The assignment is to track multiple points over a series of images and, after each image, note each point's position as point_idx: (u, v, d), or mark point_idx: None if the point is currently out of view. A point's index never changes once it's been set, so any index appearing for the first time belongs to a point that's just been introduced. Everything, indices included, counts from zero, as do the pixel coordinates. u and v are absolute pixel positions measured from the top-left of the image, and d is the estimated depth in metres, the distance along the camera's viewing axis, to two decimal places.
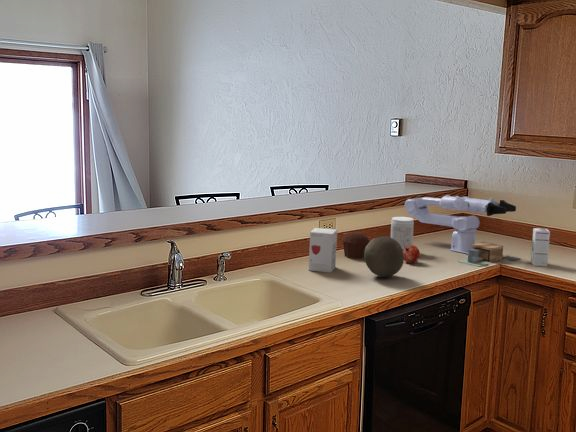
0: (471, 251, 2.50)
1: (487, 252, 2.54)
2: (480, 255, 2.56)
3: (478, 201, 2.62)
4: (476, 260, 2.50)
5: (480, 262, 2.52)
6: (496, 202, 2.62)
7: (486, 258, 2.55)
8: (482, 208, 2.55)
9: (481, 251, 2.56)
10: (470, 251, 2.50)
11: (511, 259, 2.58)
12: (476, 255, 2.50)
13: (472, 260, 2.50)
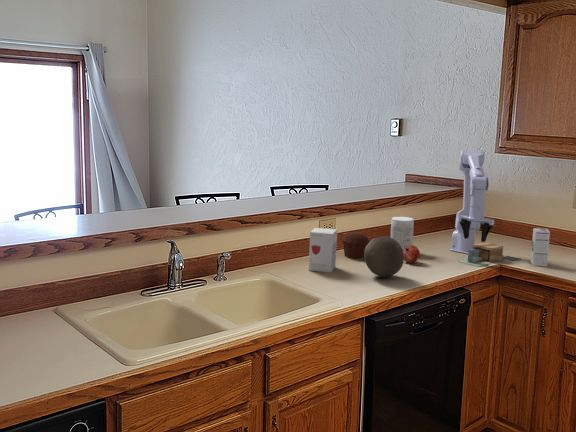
0: (471, 251, 2.50)
1: (487, 252, 2.54)
2: (480, 255, 2.56)
3: (473, 206, 2.46)
4: (476, 260, 2.50)
5: (480, 262, 2.52)
6: (481, 221, 2.45)
7: (486, 258, 2.55)
8: None
9: (481, 251, 2.56)
10: (470, 251, 2.50)
11: (511, 259, 2.58)
12: (476, 255, 2.50)
13: (472, 260, 2.50)
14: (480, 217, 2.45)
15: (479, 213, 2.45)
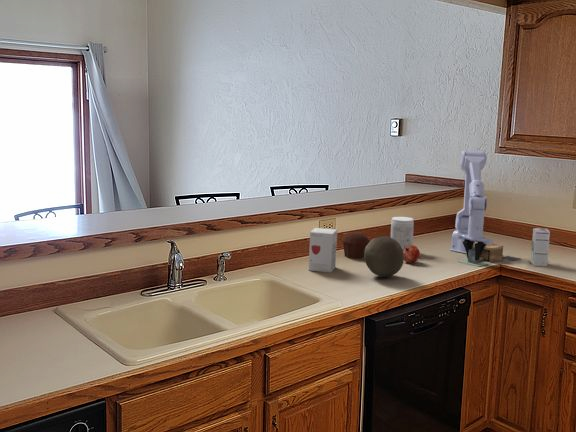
0: (471, 251, 2.50)
1: (487, 252, 2.54)
2: None
3: (471, 226, 2.47)
4: (476, 260, 2.50)
5: (480, 262, 2.52)
6: (479, 240, 2.46)
7: (486, 258, 2.55)
8: None
9: None
10: (470, 251, 2.50)
11: (511, 259, 2.58)
12: None
13: (472, 260, 2.50)
14: (478, 237, 2.47)
15: (477, 233, 2.46)
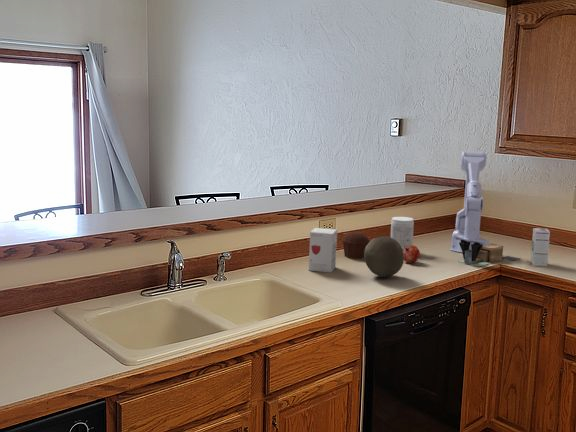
0: (468, 252, 2.48)
1: (484, 253, 2.52)
2: (477, 256, 2.55)
3: (467, 226, 2.45)
4: (473, 261, 2.48)
5: (480, 262, 2.52)
6: (476, 241, 2.44)
7: (483, 259, 2.53)
8: None
9: None
10: (467, 252, 2.48)
11: (511, 259, 2.58)
12: None
13: (469, 261, 2.48)
14: (475, 237, 2.45)
15: (473, 233, 2.45)
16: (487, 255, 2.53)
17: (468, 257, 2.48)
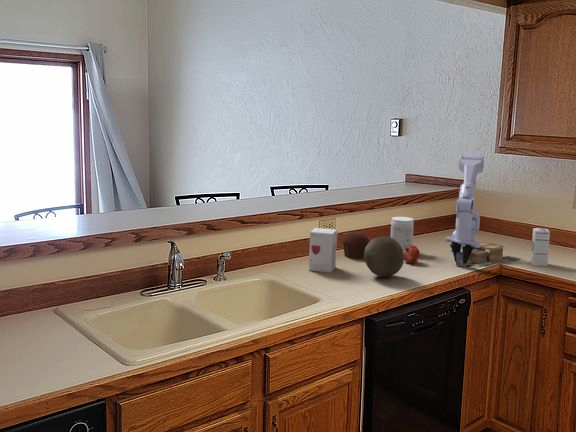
0: (459, 254, 2.44)
1: (476, 255, 2.48)
2: (469, 259, 2.50)
3: (458, 228, 2.41)
4: None
5: None
6: (467, 243, 2.40)
7: (475, 261, 2.49)
8: None
9: (470, 254, 2.50)
10: (458, 254, 2.44)
11: (511, 259, 2.58)
12: None
13: (460, 263, 2.44)
14: (466, 239, 2.41)
15: (465, 235, 2.40)
16: (479, 257, 2.49)
17: (459, 259, 2.44)
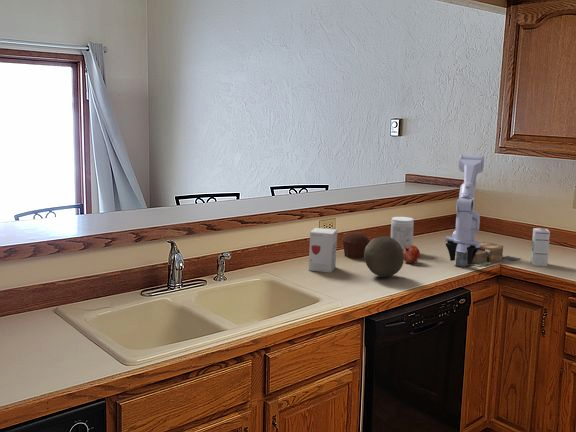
0: (459, 254, 2.44)
1: (476, 255, 2.48)
2: None
3: (458, 228, 2.41)
4: (464, 263, 2.44)
5: None
6: (467, 243, 2.40)
7: (475, 261, 2.49)
8: None
9: None
10: (458, 254, 2.44)
11: (511, 259, 2.58)
12: (464, 258, 2.44)
13: (460, 263, 2.44)
14: (466, 239, 2.41)
15: (465, 235, 2.40)
16: (479, 257, 2.49)
17: (459, 259, 2.44)
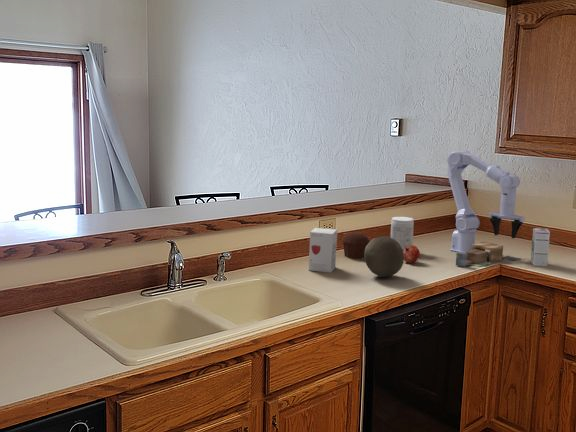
0: (459, 254, 2.44)
1: (476, 255, 2.48)
2: (469, 259, 2.50)
3: (510, 204, 2.52)
4: (464, 263, 2.44)
5: None
6: (511, 218, 2.52)
7: (475, 261, 2.49)
8: None
9: (470, 254, 2.50)
10: (458, 254, 2.44)
11: (511, 259, 2.58)
12: (464, 258, 2.44)
13: (460, 263, 2.44)
14: (510, 214, 2.52)
15: (509, 210, 2.52)
16: (479, 257, 2.49)
17: (459, 259, 2.44)
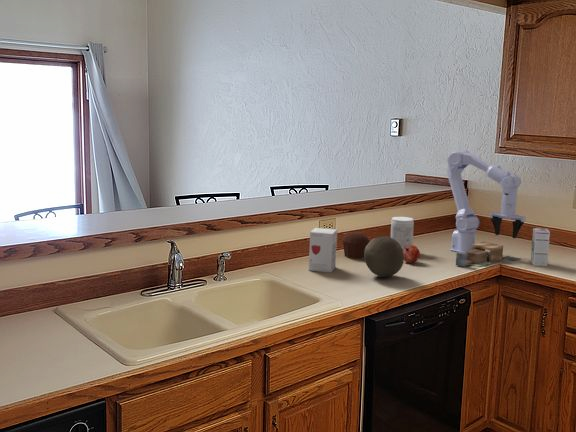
0: (459, 254, 2.44)
1: (476, 255, 2.48)
2: (469, 259, 2.50)
3: (511, 204, 2.52)
4: (464, 263, 2.44)
5: None
6: (513, 218, 2.52)
7: (475, 261, 2.49)
8: None
9: (470, 254, 2.50)
10: (458, 254, 2.44)
11: (511, 259, 2.58)
12: (464, 258, 2.44)
13: (460, 263, 2.44)
14: (512, 214, 2.53)
15: (510, 210, 2.52)
16: (479, 257, 2.49)
17: (459, 259, 2.44)
